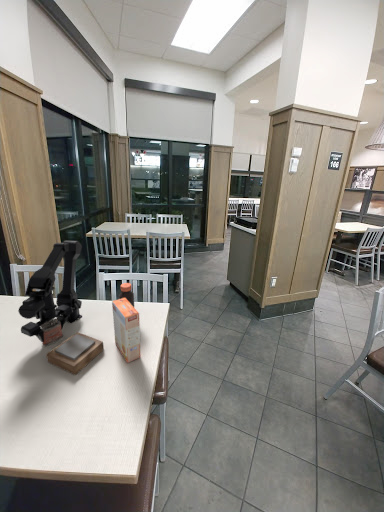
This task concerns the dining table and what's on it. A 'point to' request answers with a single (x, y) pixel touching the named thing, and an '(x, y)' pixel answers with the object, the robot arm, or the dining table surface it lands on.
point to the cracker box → (126, 329)
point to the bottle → (127, 293)
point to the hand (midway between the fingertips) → (51, 336)
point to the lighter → (52, 332)
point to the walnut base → (75, 352)
